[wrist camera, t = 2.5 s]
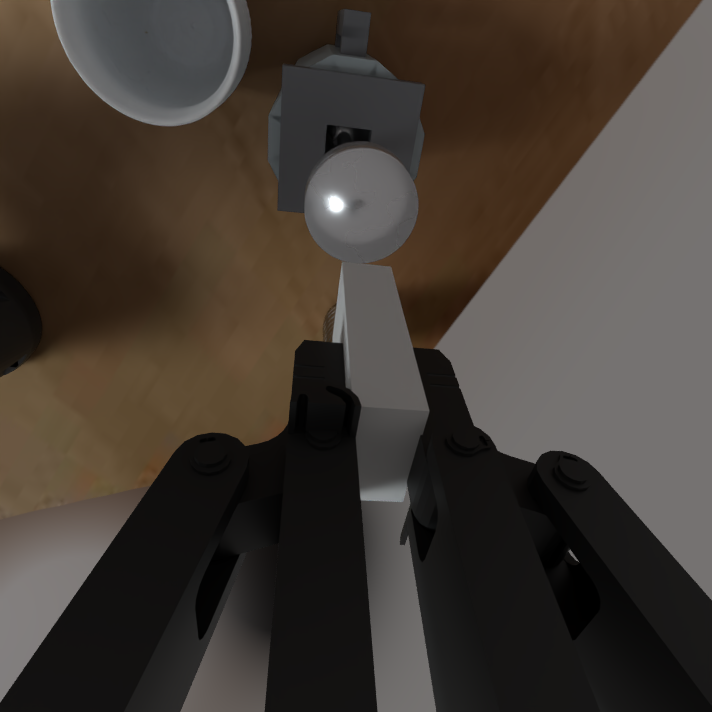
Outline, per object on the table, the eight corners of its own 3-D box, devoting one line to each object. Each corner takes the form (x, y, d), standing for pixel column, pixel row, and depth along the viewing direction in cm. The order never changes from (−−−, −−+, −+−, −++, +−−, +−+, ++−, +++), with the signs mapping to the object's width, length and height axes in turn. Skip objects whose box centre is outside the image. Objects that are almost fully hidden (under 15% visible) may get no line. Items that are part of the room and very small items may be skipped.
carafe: (279, 162, 46) (265, 220, 32) (284, 3, 39) (269, -5, 26) (382, 173, 47) (409, 234, 34) (405, 22, 40) (450, 23, 27)
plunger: (298, 175, 35) (289, 267, 22) (303, 83, 32) (296, 127, 19) (378, 184, 36) (415, 278, 23) (391, 94, 33) (443, 145, 20)
